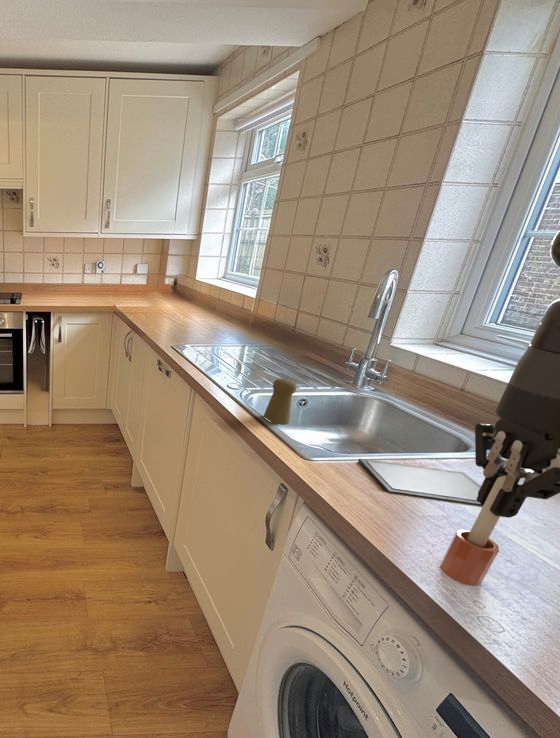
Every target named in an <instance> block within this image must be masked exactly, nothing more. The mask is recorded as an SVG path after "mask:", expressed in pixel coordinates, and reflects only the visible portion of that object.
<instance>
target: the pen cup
mask: <svg viewBox="0 0 560 738" xmlns="http://www.w3.org/2000/svg"><path fill="white" fill-rule="evenodd" d="M470 531H471V530H467V529H458V530H456V531H455V533H454V535H453V538H452V539H451V541H450V543H449V545H448V547H447V550H446V551H445V554H444V555H443V558H442V560H441V562H440V569H441V571H443V573H444V574H445V575H447V576H448V577H450V578H451V579H453V580H455V581H457V582H458V583H460V584H461V583H462V584H464V585H466V586H467V585H468V586H472V587H473V586H474V587H477V586H479V585H481V584H482V583H483V581H484V579H485V577H486V575H487V574H488V572H489V570H490V568H491V566H492V564H493V563H494V561H495V559H496V557H497V555H498V553H499V552H500V547H499V545H498V544H497V543H496V542H494V540H492V539H491V538H489V539H488V541H487V543H486V544H485V546H484V548H481V547H479V546H476V545H473V544H471V543H470V542H468V541H466V539H467V537H468V535H469V533H470Z"/></svg>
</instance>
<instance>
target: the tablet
mask: <svg viewBox="0 0 560 738" xmlns="http://www.w3.org/2000/svg"><path fill="white" fill-rule="evenodd" d="M357 462H358V464H359V465H360V466H361V467H362V468H363V469H364V470H365V471H366V473H368V474H369V476H370V477H371V478H372V479H374V481H375V483H376V484H378V485H379V487H380V488H381V489H382V490H383V491H384V492H385V493H386V494H387V493H388V494H395V495H402V496H410V497H414V498H415V497H416V498H423V499H428V500H429V499H430V500H436V501H444V502H449V503H450V502H451V503H458V504H463V505H471V506H479V507H483V505H482V504H481V503H479V502H478V501H477V497H478V492H479V490H480V488H481V486H482V485H480V484H479V483H478V482H477V481H475V480H474V479H473V478H471V477H470V476H468V475H467V474H466V472H463V471H456V470H448V469H440V468H434V467H433V468H432V467H426V466H425V467H424V466H417V465H412V464H411V465H409V464H402V463H395V462H387V461H379V460H373V459H365V458H359V459H358V461H357Z"/></svg>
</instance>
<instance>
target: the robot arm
mask: <svg viewBox="0 0 560 738" xmlns="http://www.w3.org/2000/svg"><path fill="white" fill-rule="evenodd" d="M549 252H550V253H549V254H550V258H551V260H552V262H553V263H554V264H555V265H556V266H557V268H560V230H559V231H558V232H557V233H556V234H555V236H554V238H553V239H552V242H551V246H550V251H549ZM495 414H496V416H497V417H498V418H499V419H497V421H496V422H495V423H494V424H493V423H492V424H491V423H490V424H489V423H477V424H475V426H474V443H475V444H474V446H475V447H474V450H475V451H474V452H475V453H474V454H475V456H474V457H475V461H474V462H475V465H476V466H477V467H480V468H482V469H483V471H482V474H483V476H484V480H483V482H482V483H481V485H480V486H481V488H480V490H479V492H478V497H477V501H478V502H479V503H481V504H482V505H484V503H485V501H486V499H487V497H488V495H489V493H490V491H491V489H492V487H493V485H494V483H495V481H496V479H497V478H498V477H500V476H506V479H505V481H504V483H503V489H502V488H500V490H499V492H498V494H497V496H496V498H495V500H494V502H493V504H492V506H491V508H490V512H492V513H493V514H494V515H496V516H500V518H508V519H509V518H513V517H515V516H517V515H518V514H519V512H520V509H521V508H522V506H523V504H524V502H525V501H526V499H527V498H532V499H539V500H548V499H550V498H553V497H554V496H556V495H558V494H560V298H558V299H556V300H554V301H552V302H551V303H550V304H549V306H548V307H547V308H546V310H545V312H544V314H543V316H542V318H541V319H540V322H539V324H538V326H537V328H536V331H535V332H534V334H533V336H532V339H531V341H530V342H529V345H528V346H527V349H526V350H525V352H524V353H523V355H521V357H520V358H519V360H518V361H517V364H516V366H515V367H514V369H513V372H512V374H511V376H510V379H509V380H508V383H507V385H506V387H505V389H504V392H503V394H502V395H501V398H500V399H499V402H498V404H497V406H496V408H495ZM521 479H524V480H523V482H522V483H520V481H521Z"/></svg>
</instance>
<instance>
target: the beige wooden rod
mask: <svg viewBox="0 0 560 738" xmlns="http://www.w3.org/2000/svg"><path fill="white" fill-rule="evenodd" d="M505 479H506V476H500V477H498V478H497V479H496V481H495V483H494V485H493V487H492V489H491V491H490V493H489V495H488V497H487V499H486V501H485V503H484V505H483V506H481V509H480V511H479V513H478V515H477V517H476V519H475V521H474V522H473V525H472V526H471V529H470V530H469V531H470V533H469V535H468V537H467V539H466V541H468V542H470V543H471V544H473V545H476V546H479V547H481V548H484V546H485V544H486V543H487V541H488V539H490V537H491V535H492V533H493V531H494V529H495V527H496V526H497V523H498V521H499V520H500V518H501V516H496V515H494V514H493V513H492V512H490V508H491V506H492V504H493V502H494V500H495V498H496V496H497V494H498V492H499V490H500V488H502V489H503V483H504V481H505Z"/></svg>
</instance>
